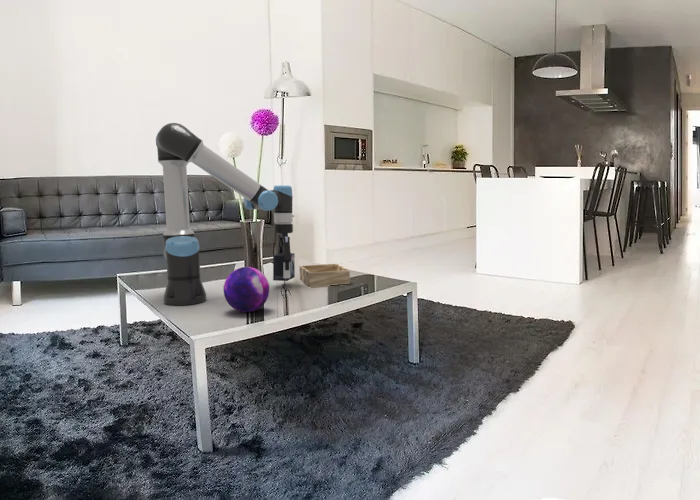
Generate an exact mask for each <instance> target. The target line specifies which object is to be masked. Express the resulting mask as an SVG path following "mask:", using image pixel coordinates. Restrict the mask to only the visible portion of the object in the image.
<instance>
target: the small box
mask: <svg viewBox="0 0 700 500" xmlns="http://www.w3.org/2000/svg"><path fill="white" fill-rule="evenodd" d="M272 257H273V259H272V260H273V261H272V263H273V264H272V265H273V266H272V271H273V273H272V281H276V282H277V281H279V282H288V281H290V280H292V279H295V275H296V274H295V272H296V270H295V269H296V267H295V263H296V262H295V259H296V258H295V253H292V252H291V261H290V278H283V262H282V260H284V258H283V253H279V254H278V253H276V254H273V256H272Z"/></svg>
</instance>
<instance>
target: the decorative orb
mask: <svg viewBox="0 0 700 500" xmlns="http://www.w3.org/2000/svg"><path fill="white" fill-rule="evenodd" d="M269 294H270V284H269V280H268V279H267V277H266V275H265V274H264V273H263V272H262V271H260V270H259V269H257V268H255V267H251V266H243V267H238V268H236V269H234V270H233V271H232V272H231V273H229V275H228V276H227V277H226V279H225V281H224V284H223V296H224V298H225V301H226V302H227V304H228V305H229V306H230V307H231V308H232V309H234V310H236V311H239V312H242V313H251V312H254V311H257V310H258V309H260V308H261V307H263V306H264V305H265V303H266V302H267V300H268V298H269V296H270V295H269Z"/></svg>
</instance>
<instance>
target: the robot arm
mask: <svg viewBox="0 0 700 500" xmlns="http://www.w3.org/2000/svg"><path fill="white" fill-rule="evenodd" d="M155 145H156V149H157V161H158V164H160V165H161V166H162V172H163V173H162V176H163V190H164V191H163V193H164V206H165V207H164V208H165V222H166V229H165V231H164V232H163V233H162V240H163V242H162V243H163V250H162V255H163V258H164V260H165V261H166V274H167V283H166V287H165V290H164V294H163V304H165V305H168V306H189V305H196V304H200V303H204V302H206V301H207V300H208V299H207V298H208V297H207V293H206V289H205V287H204V284H203V282H202V278H201V277H202V276H201V261H200V260H201V259H200V249H201V247H200V242H199V240H198V238H196V237H195V232H194V230H192V229H191V223H190V207H189V191H188V173H187V166H188V164H189V163H192V164H193V165H196V166H197V167H199V168H200V169H201V170H203V171H204V172H206V173H207V174H208V175H210V176H211V177H213V178H215V179H216V180H217V181H219V182H221V184H223V185H225V186H226V187H228V188H229V189H231V190H233V191H234V192H235V193H237V194H238V195H240V196H241V197H243V204H244V208H245V209H246V210H252V211H253V210H262V211H264V212H269V211H273V222H274V227H273V228H274V233H275V234H278V235H277V238H278V239H277V240H278V241H277V254H279V253H283V258H284V260H282V262H283V278H290V261H291V253H292V252H291V241H290V240H291V239H290V236H289V235H288V234H292V233H293V231H294V225H293V220H294V219H293V218H294V217H295V215H294V214H293V197H294V196H293V189H292V186H291V185H284V184H283V185H274V186H273V189H271V190H270V189H267V188H266V187H265V186H263V185H262V184H261V183H259V182H257V181H256V180H255V179H253V178H252V177H250V176H249V175H248V174H246V173H245V172H244V171H242V170H240V169H239V168H237V167H236V166H234V165H233V164H232V163H230V162H229V161H227V160H226V159H225V158H223V157H222V156H220V155H219V154H217V153H216V152H215V151H213V150H211V149H210V148H209V147H207V146H205V145H204V141H203V140H202V139H200V138H199V137H198V136H196V135H195V134H194V133H193V132H192V131H191V130H190V129H188V128H187V127H186V126H184V125H183V124H181V123H178V122H171V123H167V124H164V126H162V127H161V128H160V129H159V131H158V132H157V134H156V136H155Z"/></svg>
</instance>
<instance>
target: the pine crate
mask: <svg viewBox="0 0 700 500" xmlns="http://www.w3.org/2000/svg"><path fill="white" fill-rule="evenodd" d="M298 271H299V280H300V281H301V282H302V281H303V282H304V284H305V285H306V286H307V287H308V288H309V287H310V288H309V289H311V288H322V287H323V286H326V287H331V286H330V285H337V284H347V283H350V284H351V279H350V278H351V275H350V274H351V273H350V272H351V271H350V270H349V269H348V268H345V267H343V266H342V265H339V264H338V263H329V264H328V263H327V264H309V265H299V270H298ZM303 282H302V283H303ZM323 288H324V287H323Z"/></svg>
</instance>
